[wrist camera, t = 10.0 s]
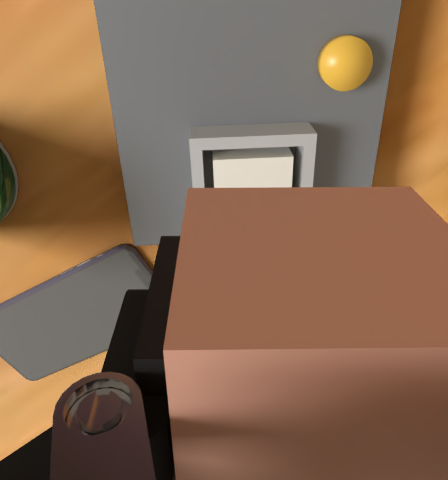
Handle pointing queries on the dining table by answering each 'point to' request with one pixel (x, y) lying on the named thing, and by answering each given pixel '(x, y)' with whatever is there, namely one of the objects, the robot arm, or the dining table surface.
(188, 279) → the block
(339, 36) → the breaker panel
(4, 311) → the smartphone
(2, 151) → the canned tomato
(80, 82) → the dining table surface
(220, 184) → the button
